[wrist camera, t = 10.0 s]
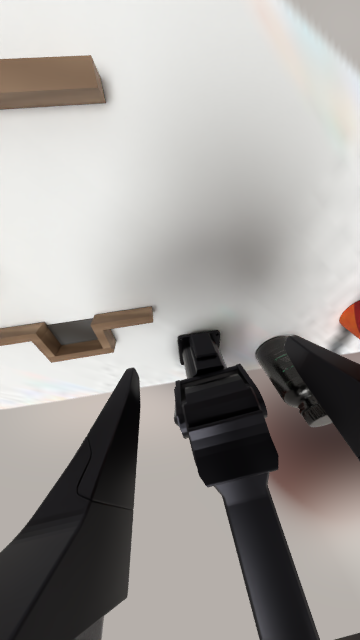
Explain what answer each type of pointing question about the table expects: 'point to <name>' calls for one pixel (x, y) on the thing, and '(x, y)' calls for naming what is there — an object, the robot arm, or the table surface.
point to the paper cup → (352, 319)
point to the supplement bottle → (290, 382)
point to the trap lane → (57, 90)
